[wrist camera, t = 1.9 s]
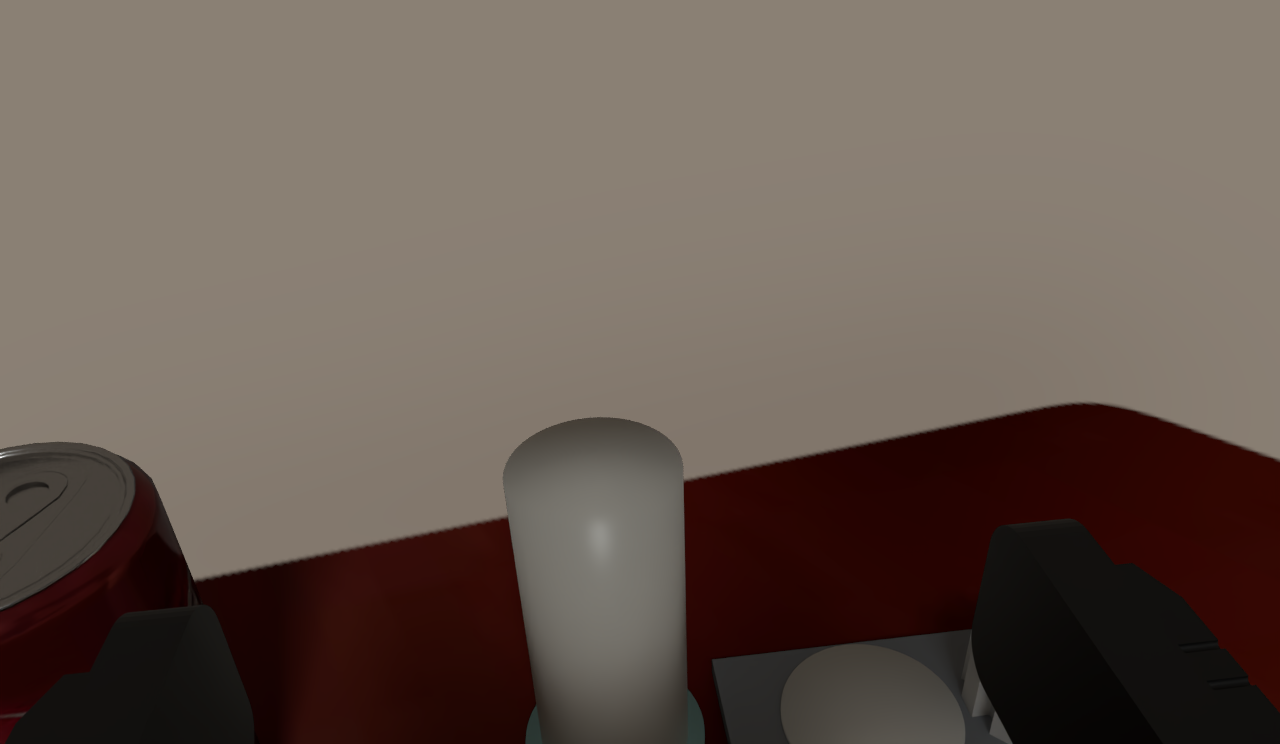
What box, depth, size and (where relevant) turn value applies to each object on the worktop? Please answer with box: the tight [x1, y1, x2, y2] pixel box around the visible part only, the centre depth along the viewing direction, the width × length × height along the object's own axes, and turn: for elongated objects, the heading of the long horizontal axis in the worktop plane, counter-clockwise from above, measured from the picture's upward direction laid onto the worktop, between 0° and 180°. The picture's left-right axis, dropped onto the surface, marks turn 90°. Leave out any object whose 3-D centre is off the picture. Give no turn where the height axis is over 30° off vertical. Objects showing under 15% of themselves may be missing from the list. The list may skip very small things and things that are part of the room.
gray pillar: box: [503, 417, 705, 744], centre depth 26 cm, size 5×5×12 cm
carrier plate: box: [712, 629, 1013, 744], centre depth 29 cm, size 12×6×3 cm, turn 96°
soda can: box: [0, 442, 260, 744], centre depth 24 cm, size 7×7×12 cm
